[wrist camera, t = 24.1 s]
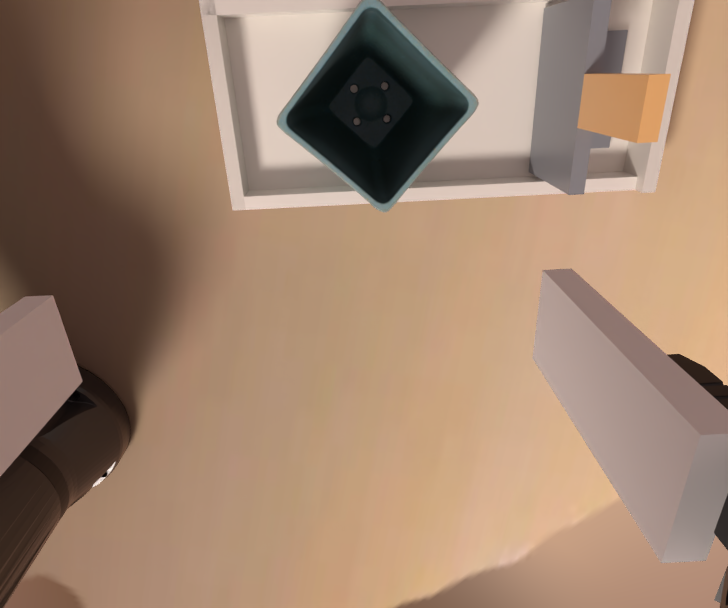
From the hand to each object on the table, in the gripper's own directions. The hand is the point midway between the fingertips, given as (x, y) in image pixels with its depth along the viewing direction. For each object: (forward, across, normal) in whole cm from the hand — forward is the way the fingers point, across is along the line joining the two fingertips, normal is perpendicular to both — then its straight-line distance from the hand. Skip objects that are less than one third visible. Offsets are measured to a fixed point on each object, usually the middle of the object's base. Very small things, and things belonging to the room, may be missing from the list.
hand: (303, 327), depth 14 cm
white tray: (+29, +8, +4) cm, 30 cm away
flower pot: (+28, +3, +4) cm, 29 cm away
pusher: (+28, +18, +4) cm, 33 cm away
